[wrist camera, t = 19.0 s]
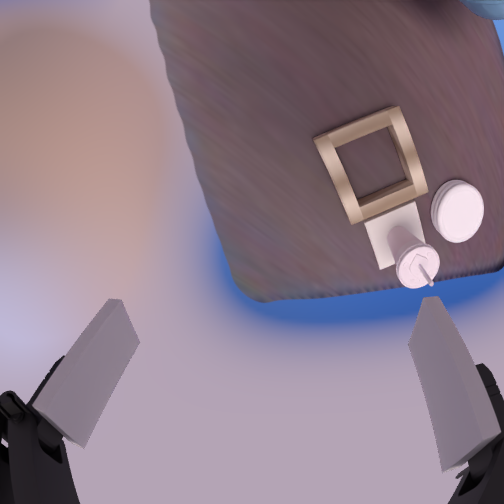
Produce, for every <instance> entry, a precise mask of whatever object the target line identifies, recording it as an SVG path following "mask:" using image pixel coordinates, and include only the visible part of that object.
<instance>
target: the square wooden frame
mask: <svg viewBox="0 0 504 504" xmlns="http://www.w3.org/2000/svg"><path fill="white" fill-rule="evenodd" d="M384 127H387V128H388V130H389V133H390V135H391V138H392V140H393V143H394V145H395V148H396V151H397V153H398V156H399V159H400V162H401V164H402V167H403V170H404V173H405V176H406V179H405V180H403V181H401V182H398V183H396V184H394V185H391V186H389V187H387V188H384V189H382V190H380V191H377V192H375V193H372V194H370V195H368V196H365V197H363V198H361V199H358V200H356V197H355V195H354V192H353V190H352V187H351V185H350V183H349V180H348V178H347V175H346V173H345V171H344V169H343V166H342V164H341V162H340V160H339V157H338V155H337V153H336V151H335V149H334V148H336V147H338V146H340V145H343V144H345V143H348V142H350V141H352V140H355V139H357V138H360V137H362V136H364V135H367V134H369V133H372V132H374V131H377V130H379V129H382V128H384ZM312 139H313V141H314V143H315V145H316V147H317V149H318V151H319V153H320V156H321V158H322V160H323V162H324V164H325V166H326V168H327V170H328V173H329V175H330V177H331V179H332V181H333V184H334V186H335V188H336V190H337V193H338V195H339V197H340V200H341V202H342V204H343V207H344V209H345V211H346V214H347V216H348V219H349V221H350V223H351V225H353V224H355V223H358V222H360V221H362V220H365V219H367V218H369V217H372V216H374V215H376V214H379V213H381V212H383V211H386V210H388V209H390V208H393V207H395V206H397V205H400V204H402V203H404V202H407V201H409V200H411V199H413V198H416V197H418V196H420V195H423V194H425V193H427V192H428V188H427V184H426V181H425V177H424V174H423V171H422V167H421V164H420V161H419V158H418V155H417V152H416V149H415V146H414V143H413V140H412V138H411V135H410V132H409V130H408V127H407V124H406V122H405V119H404V117H403V115H402V112H401V110H400V107H399V106H391V107H388V108H385V109H383V110H380V111H377V112H375V113H372V114H370V115H367V116H365V117H362V118H360V119H357V120H355V121H352V122H350V123H347V124H345V125H342V126H340V127H338V128H335V129H333V130H331V131H328V132H326V133H324V134H321V135H319V136H317V137H315V138H312Z"/></svg>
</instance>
